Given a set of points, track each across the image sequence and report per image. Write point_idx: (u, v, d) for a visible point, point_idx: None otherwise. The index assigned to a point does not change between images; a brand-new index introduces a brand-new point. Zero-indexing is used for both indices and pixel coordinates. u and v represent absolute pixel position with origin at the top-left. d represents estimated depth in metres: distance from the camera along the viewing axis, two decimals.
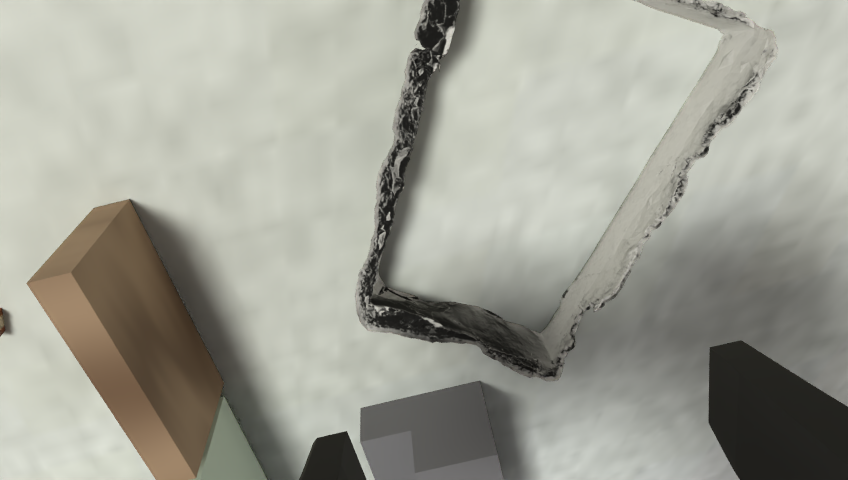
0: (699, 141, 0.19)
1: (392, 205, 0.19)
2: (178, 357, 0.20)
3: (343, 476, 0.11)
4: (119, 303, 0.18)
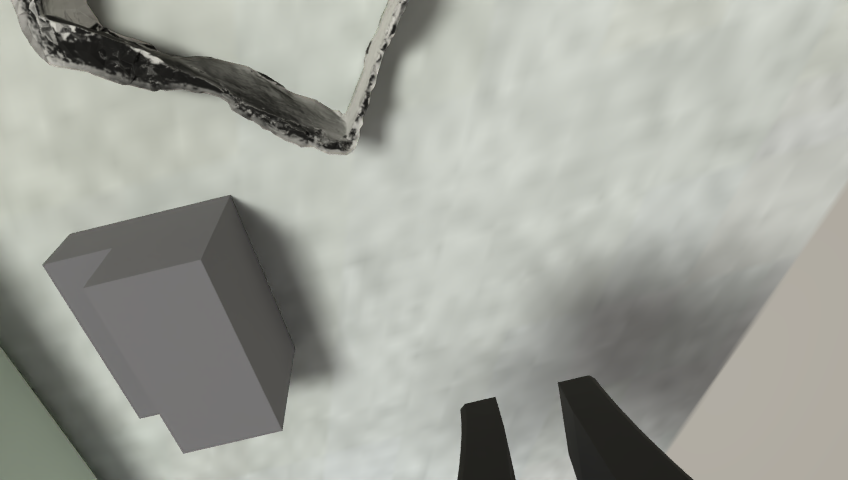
0: None
1: None
2: None
3: (506, 439, 0.10)
4: None
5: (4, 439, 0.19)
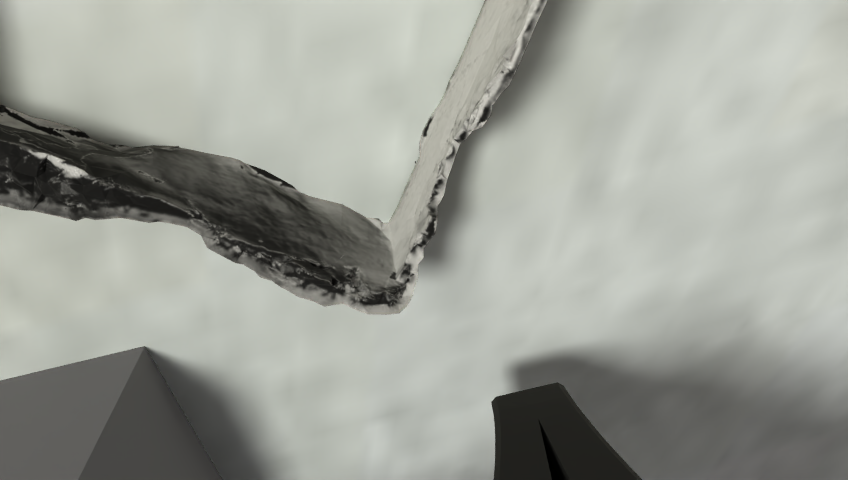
0: None
1: None
2: None
3: (540, 431, 0.10)
4: None
5: None
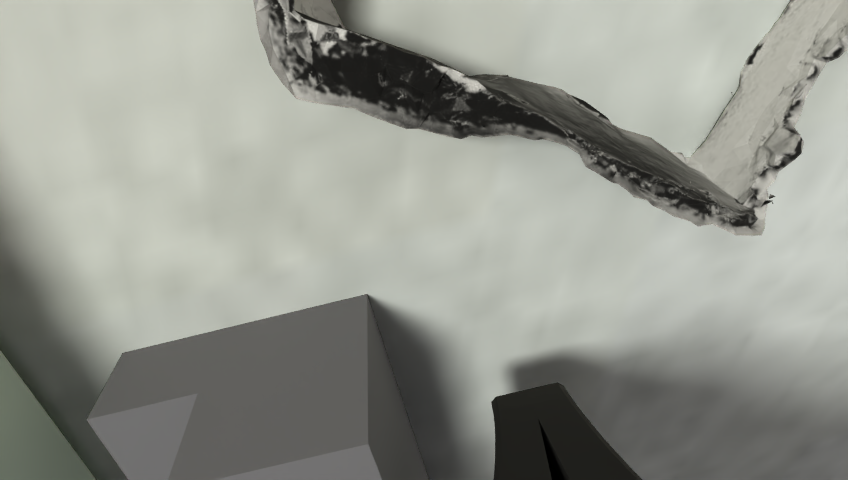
0: None
1: None
2: None
3: (540, 431, 0.10)
4: None
5: None
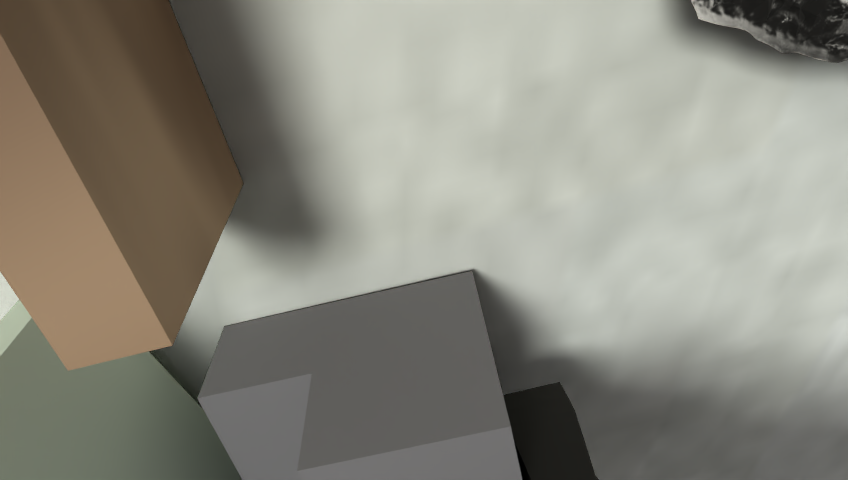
0: None
1: None
2: (124, 25, 0.07)
3: None
4: None
5: None
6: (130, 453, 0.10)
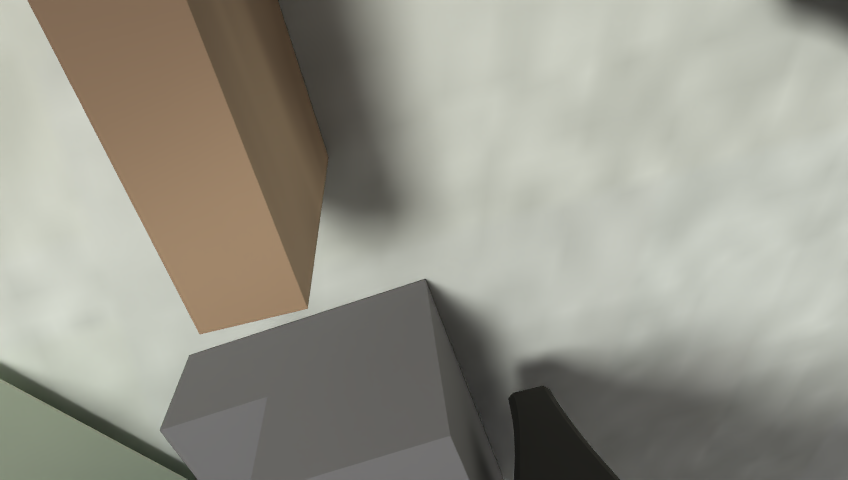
0: None
1: None
2: None
3: None
4: None
5: None
6: None
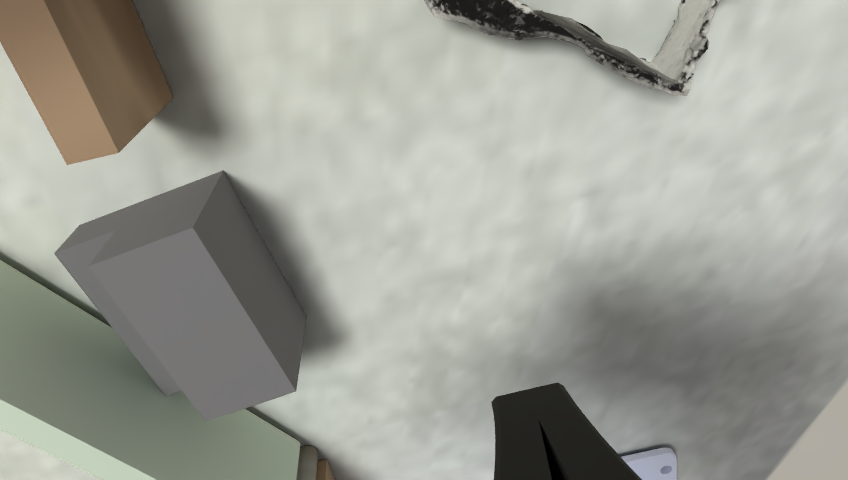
0: None
1: None
2: None
3: (540, 431, 0.10)
4: None
5: (152, 402, 0.20)
6: (3, 320, 0.18)
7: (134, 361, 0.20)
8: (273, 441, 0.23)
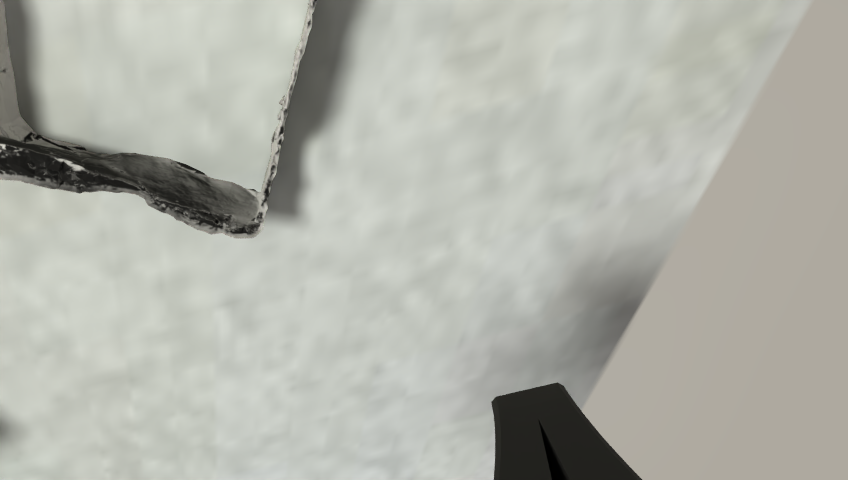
0: None
1: None
2: None
3: (540, 431, 0.10)
4: None
5: None
6: None
7: None
8: None
